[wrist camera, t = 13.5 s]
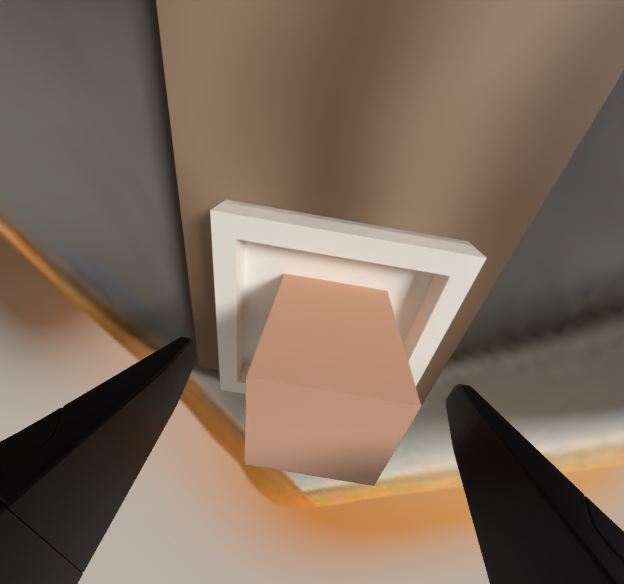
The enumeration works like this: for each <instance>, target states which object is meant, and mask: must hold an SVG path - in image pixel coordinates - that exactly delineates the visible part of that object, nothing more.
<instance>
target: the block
mask: <svg viewBox="0 0 624 584" xmlns="http://www.w3.org/2000/svg"><path fill="white" fill-rule="evenodd" d="M420 408H421V404H420V400H419V397H418V393H417V390H416V387H415V383H414V380H413V376H412V373H411V370H410V366H409V363H408V359H407V356H406V353H405V349H404V346H403V342H402V339H401V336H400V332H399V329H398V325H397V322H396V319H395V315H394V312H393V308H392V305H391V302H390V298H389V295H388V291H386V290H380V289H374V288H368V287H363V286H357V285H351V284H345V283H339V282H333V281H327V280H321V279H315V278H310V277H304V276H298V275H292V274H286V273H284V276H283V279H282V281H281V284H280V287H279V290H278V292H277V295H276V298H275V300H274V303H273V306H272V309H271V311H270V314H269V317H268V319H267V322H266V325H265V328H264V330H263V333H262V336H261V339H260V341H259V344H258V347H257V349H256V352H255V355H254V358H253V360H252V363H251V366H250V368H249V371H248V374H247V377H246V415H245V464H246V465H252V466H258V467H264V468H270V469H276V470H282V471H288V472H294V473H300V474H306V475H312V476H318V477H324V478H330V479H336V480H342V481H348V482H354V483H360V484H366V485H372V486H374V485H375V483H376V481H377V480H378V478H379V476H380V475H381V473H382V471H383V470H384V468H385V466H386V465H387V463H388V461H389V460H390V458H391V456H392V455H393V453H394V451H395V450H396V448H397V446H398V445H399V443H400V441H401V440H402V438H403V436H404V435H405V433H406V431H407V430H408V428H409V426H410V425H411V423H412V421H413V420H414V418H415V416H416V415H417V413H418V411H419V410H420Z"/></svg>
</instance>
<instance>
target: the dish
mask: <svg viewBox="0 0 624 584" xmlns="http://www.w3.org/2000/svg"><path fill="white" fill-rule="evenodd" d="M210 218H211V235H212V252H213V270H214V287H215V304H216V322H217V339H218V356H219V373H220V390H225V391H230V392H236V393H242V394H246V377H247V374H248V371H249V368H250V366H251V363H252V360H253V358H254V355H255V352H256V349H257V347H258V344H259V341H260V339H261V336H262V333H263V330H264V328H265V325H266V322H267V319H268V317H269V314H270V311H271V309H272V306H273V303H274V300H275V298H276V295H277V292H278V290H279V287H280V284H281V281H282V279H283V276H284V273H286V274H292V275H298V276H304V277H310V278H315V279H321V280H327V281H333V282H339V283H345V284H351V285H357V286H363V287H368V288H374V289H380V290H386V291H388V295H389V298H390V302H391V305H392V308H393V312H394V315H395V319H396V322H397V325H398V329H399V332H400V336H401V339H402V342H403V346H404V349H405V353H406V356H407V359H408V363H409V366H410V370H411V373H412V376H413V380H414V383H415V387H416V386H417V384H418V382H419V380H420V378H421V377H422V375H423V373H424V371H425V369H426V368H427V366H428V364H429V362H430V360H431V358H432V357H433V355H434V353H435V351H436V349H437V348H438V346H439V344H440V342H441V340H442V339H443V337H444V335H445V333H446V331H447V329H448V328H449V326H450V324H451V322H452V320H453V319H454V317H455V315H456V313H457V311H458V309H459V308H460V306H461V304H462V302H463V300H464V299H465V297H466V295H467V293H468V291H469V289H470V288H471V286H472V284H473V282H474V280H475V279H476V277H477V275H478V273H479V271H480V269H481V268H482V266H483V264H484V262H485V260H486V259H487V258H486V257H485V256H484V255H483V254H482V253H481V252H480V251H478V250H477V249H476V248H475V247H474V246H473V245H472V244H471V243H469V242H468V241H463V240H458V239H452V238H446V237H440V236H435V235H429V234H423V233H417V232H411V231H406V230H400V229H394V228H388V227H383V226H377V225H371V224H365V223H360V222H354V221H348V220H342V219H337V218H331V217H325V216H319V215H313V214H308V213H302V212H296V211H290V210H285V209H279V208H273V207H267V206H262V205H256V204H250V203H244V202H238V201H233V200H227V199H226V200H225V201H223V202H222V203H220V204H219V205H217V206H216V207H214V208H213V209H211V210H210Z"/></svg>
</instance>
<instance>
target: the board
mask: <svg viewBox="0 0 624 584" xmlns="http://www.w3.org/2000/svg"><path fill="white" fill-rule="evenodd" d="M156 5H157V13H158V22H159V30H160V39H161V47H162V56H163V65H164V73H165V82H166V90H167V99H168V107H169V116H170V124H171V133H172V141H173V150H174V159H175V167H176V176H177V184H178V193H179V201H180V210H181V218H182V227H183V235H184V244H185V253H186V261H187V270H188V278H189V287H190V295H191V304H192V312H193V321H194V329H195V338H196V346H197V355H198V364H199V367H201V368H207V369H213V370H219V356H218V339H217V322H216V304H215V287H214V270H213V252H212V235H211V218H210V210H211V209H213V208H214V207H216V206H217V205H219V204H220V203H222V202H223V201H225V200H226V199H227V200H233V201H238V202H244V203H250V204H256V205H262V206H267V207H273V208H279V209H285V210H290V211H296V212H302V213H308V214H313V215H319V216H325V217H331V218H337V219H342V220H348V221H354V222H360V223H365V224H371V225H377V226H383V227H388V228H394V229H400V230H406V231H411V232H417V233H423V234H429V235H435V236H440V237H446V238H452V239H458V240H463V241H468V242H469V243H471V244H472V245H473V246H474V247H475V248H476V249H477V250H478V251H480V252H481V253H482V254H483V255H484V256H485V257H486V258H487V259H486V260H485V262H484V264H483V266H482V268H481V269H480V271H479V273H478V275H477V277H476V279H475V280H474V282H473V284H472V286H471V288H470V289H469V291H468V293H467V295H466V297H465V299H464V300H463V302H462V304H461V306H460V308H459V309H458V311H457V313H456V315H455V317H454V319H453V320H452V322H451V324H450V326H449V328H448V329H447V331H446V333H445V335H444V337H443V339H442V340H441V342H440V344H439V346H438V348H437V349H436V351H435V353H434V355H433V357H432V358H431V360H430V362H429V364H428V366H427V368H426V369H425V371H424V373H423V375H422V377H421V378H420V380H419V382H418V384H417V386H416V390H417V393H418V397H419V400H420V404H421V405H422V404H423V402H424V401H425V399H426V397H427V396H428V394H429V392H430V391H431V389H432V387H433V386H434V384H435V382H436V381H437V379H438V377H439V376H440V374H441V372H442V371H443V369H444V367H445V366H446V364H447V362H448V361H449V359H450V357H451V356H452V354H453V353H454V351H455V349H456V348H457V346H458V344H459V343H460V341H461V339H462V338H463V336H464V334H465V333H466V331H467V329H468V328H469V326H470V324H471V323H472V321H473V319H474V318H475V316H476V314H477V313H478V311H479V309H480V308H481V306H482V304H483V303H484V301H485V299H486V298H487V296H488V294H489V293H490V291H491V289H492V288H493V286H494V285H495V283H496V281H497V280H498V278H499V276H500V275H501V273H502V271H503V270H504V268H505V266H506V265H507V263H508V261H509V260H510V258H511V256H512V255H513V253H514V251H515V250H516V248H517V246H518V245H519V243H520V241H521V240H522V238H523V236H524V235H525V233H526V231H527V230H528V228H529V226H530V225H531V223H532V221H533V220H534V218H535V217H536V215H537V213H538V212H539V210H540V208H541V207H542V205H543V203H544V202H545V200H546V198H547V197H548V195H549V193H550V192H551V190H552V188H553V187H554V185H555V183H556V182H557V180H558V178H559V177H560V175H561V173H562V172H563V170H564V168H565V167H566V165H567V163H568V162H569V160H570V158H571V157H572V155H573V154H574V152H575V150H576V149H577V147H578V145H579V144H580V142H581V140H582V139H583V137H584V135H585V134H586V132H587V130H588V129H589V127H590V125H591V124H592V122H593V120H594V119H595V117H596V115H597V114H598V112H599V110H600V109H601V107H602V105H603V104H604V102H605V100H606V99H607V97H608V95H609V94H610V92H611V90H612V89H613V87H614V86H615V84H616V82H617V81H618V79H619V77H620V76H621V74H622V72H623V71H624V0H156Z"/></svg>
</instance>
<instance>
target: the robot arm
mask: <svg viewBox="0 0 624 584" xmlns="http://www.w3.org/2000/svg"><path fill="white" fill-rule="evenodd" d="M195 361H196V348H195V341H194V339H192V338H186V337H180V338H178V339H177V340H175V341H173V342H171V343H170V344H168V345H166V346H165V347H163V348H161V349H160V350H158V351H156V352H154V353H153V354H151V355H149V356H148V357H146V358H144V359H143V360H141V361H139V362H138V363H136V364H134V365H132V366H131V367H129V368H128V369H126V370H124V371H122V372H121V373H119V374H117V375H116V376H114V377H112V378H110V379H109V380H107V381H105V382H104V383H102V384H100V385H99V386H97V387H95V388H93V389H92V390H90V391H88V392H87V393H85V394H83V395H82V396H80V397H78V398H77V399H75V400H73V401H71V402H70V403H68V404H66V405H65V406H64V407H63V408H60V409H58V410H56V411H54V412H53V413H51V414H49V415H48V416H46V417H44V418H42V419H41V420H39V421H37V422H35V423H34V424H32V425H30V426H28V427H27V428H25V429H23V430H21V431H20V432H18V433H16V434H14V435H13V436H11V437H9V438H7V439H5V440H3V441H1V442H0V584H78V582H79V580H80V578H81V576H82V574H83V573H82V572H84V571H85V569H86V567H87V565H88V563H89V562H90V560H91V558H92V556H93V555H94V553H95V551H96V549H97V547H98V545H99V544H100V542H101V540H102V538H103V536H104V535H105V533H106V531H107V529H108V528H109V526H110V524H111V522H112V521H113V519H114V517H115V515H116V513H117V511H118V510H119V508H120V506H121V504H122V503H123V501H124V499H125V497H126V495H127V494H128V492H129V490H130V488H131V486H132V485H133V483H134V481H135V479H136V477H137V475H138V474H139V472H140V470H141V468H142V467H143V465H144V463H145V461H146V460H147V457H148V456H149V454H150V452H151V451H152V449H153V447H154V445H155V444H156V442H157V440H158V438H159V436H160V435H161V433H162V431H163V429H164V427H165V425H166V424H167V422H168V420H169V418H170V417H171V415H172V413H173V411H174V409H175V407H176V406H177V403H178V401H179V399H180V397H181V395H182V392H183V390H184V388H185V385H186V383H187V380H188V378H189V376H190V373H191V371H192V369H193V366H194V364H195ZM446 409H447V415H448V421H449V427H450V433H451V439H452V445H453V450H454V454H455V458H456V462H457V465H458V469H459V472H460V476H461V480H462V483H463V487H464V491H465V494H466V498H467V502H468V505H469V509H470V512H471V516H472V520H473V523H474V527H475V530H476V534H477V538H478V542H479V545H480V549H481V553H482V556H483V560H484V563H485V567H486V571H487V574H488V578H489V582H490V584H624V531H622V530H621V529H620V528H619V527H618V526H617V525H616V524H615V523H614V522H613V521H612V520H610V518H608V517H607V516H606V515H605V514H604V513H603V512H602V511H601V510H600V509H599V508H598V507H597V506H596V505H595V504H594V503H593V502H591V500H590V499H588V498H587V497H585V496H584V494H583V493H582V492H581V491H580V490H579V489H578V488H577V487H576V486H575V485H574V484H573V483H572V482H571V481H569V480H568V479H567V478H566V477H565V476H564V475H563V474H562V473H561V472H560V471H559V470H558V469H557V468H556V467H555V466H554V465H553V464H552V463H551V462H550V461H549V460H547V459H546V458H545V457H544V456H543V455H542V454H541V453H540V452H539V451H538V450H537V449H536V448H535V447H534V446H533V445H532V444H531V443H530V442H529V441H528V440H526V439H525V438H524V437H523V436H522V435H521V434H520V433H519V432H518V431H517V430H516V429H515V428H514V427H513V426H512V425H511V424H510V423H509V422H508V421H507V420H505V419H504V418H503V417H502V416H501V415H500V414H499V413H498V412H497V411H496V410H495V409H494V408H493V407H492V406H491V405H490V404H489V403H488V402H487V401H486V400H484V399H483V398H482V397H481V396H480V395H479V394H478V393H477V392H476V391H475V390H474V389H473V388H472V387H470V386H467V385H462V384H457V385H456V386H455V387H454V388H453V390H452V391H451V393H450V394H449V396H448V397H447V399H446Z"/></svg>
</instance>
